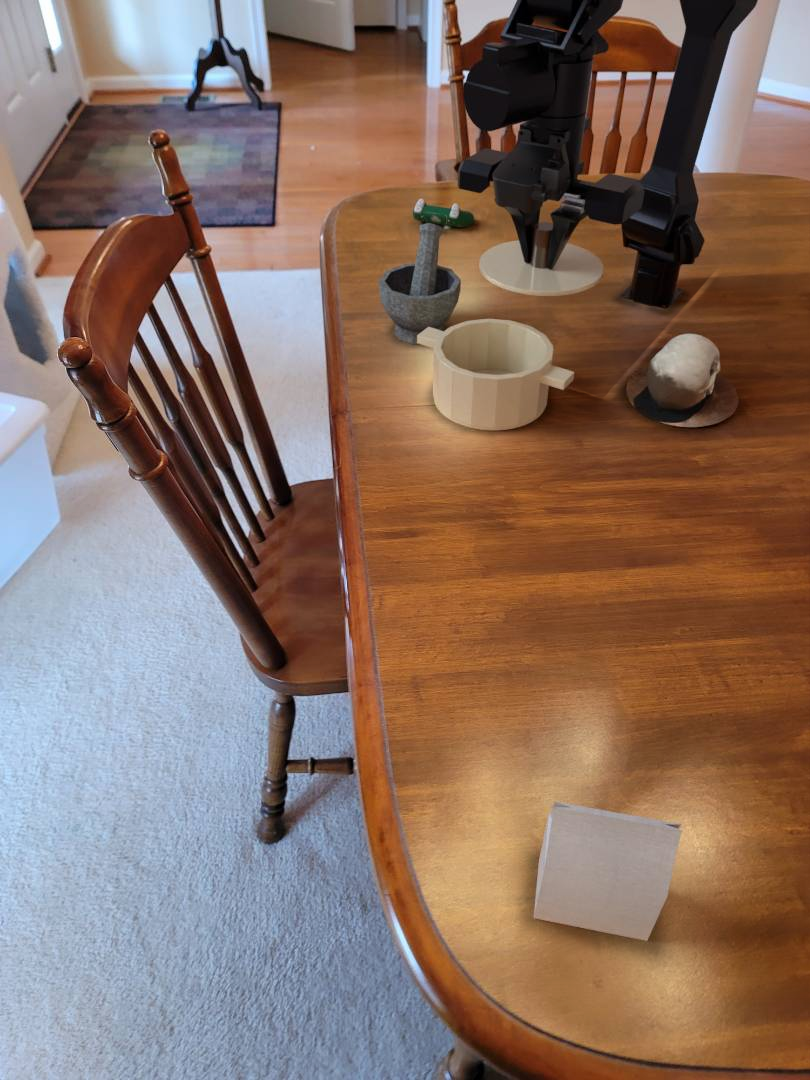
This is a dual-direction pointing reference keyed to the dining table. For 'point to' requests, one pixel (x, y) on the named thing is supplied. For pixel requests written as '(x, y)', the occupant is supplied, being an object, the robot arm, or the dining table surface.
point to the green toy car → (442, 215)
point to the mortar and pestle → (420, 290)
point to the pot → (492, 373)
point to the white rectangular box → (604, 870)
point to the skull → (684, 385)
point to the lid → (541, 267)
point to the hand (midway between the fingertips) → (539, 264)
